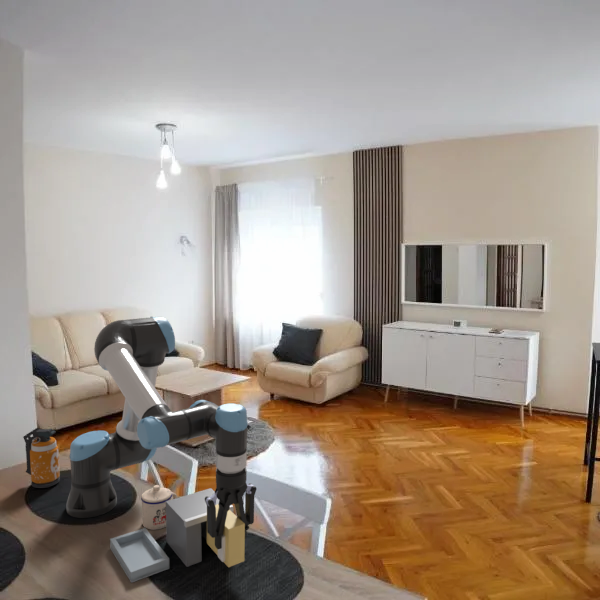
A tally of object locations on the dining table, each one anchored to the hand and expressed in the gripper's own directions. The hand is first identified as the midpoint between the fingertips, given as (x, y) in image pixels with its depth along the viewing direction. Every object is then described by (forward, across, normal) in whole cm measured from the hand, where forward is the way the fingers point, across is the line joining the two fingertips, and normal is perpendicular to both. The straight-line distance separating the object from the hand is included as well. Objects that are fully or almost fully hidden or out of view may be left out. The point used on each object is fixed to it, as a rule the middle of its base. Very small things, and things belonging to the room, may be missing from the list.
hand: (230, 555), depth 132 cm
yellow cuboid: (+1, 0, +3) cm, 3 cm away
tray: (+7, -16, +22) cm, 28 cm away
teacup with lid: (+8, -4, +37) cm, 38 cm away
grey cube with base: (+7, 0, +18) cm, 20 cm away
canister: (+9, -29, +84) cm, 90 cm away
